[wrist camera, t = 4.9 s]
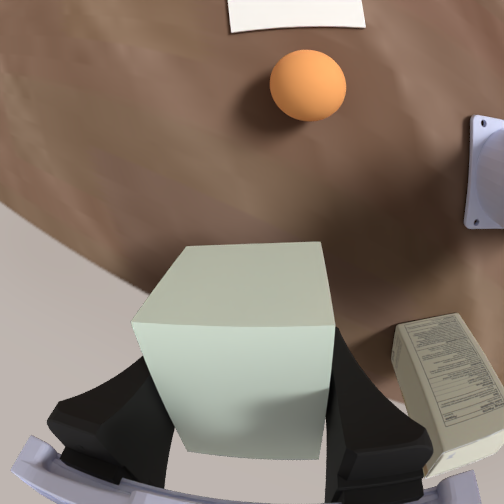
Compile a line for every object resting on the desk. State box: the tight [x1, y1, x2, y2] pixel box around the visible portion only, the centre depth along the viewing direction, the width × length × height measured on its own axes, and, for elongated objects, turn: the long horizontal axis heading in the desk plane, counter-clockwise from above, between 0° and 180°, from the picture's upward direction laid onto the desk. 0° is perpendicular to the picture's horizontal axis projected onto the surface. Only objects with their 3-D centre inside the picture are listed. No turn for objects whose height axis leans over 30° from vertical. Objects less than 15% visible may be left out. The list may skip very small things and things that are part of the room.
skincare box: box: [391, 313, 504, 479], centre depth 17 cm, size 6×4×12 cm
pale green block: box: [131, 242, 335, 460], centre depth 12 cm, size 6×8×6 cm
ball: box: [270, 50, 346, 121], centre depth 14 cm, size 4×4×4 cm
